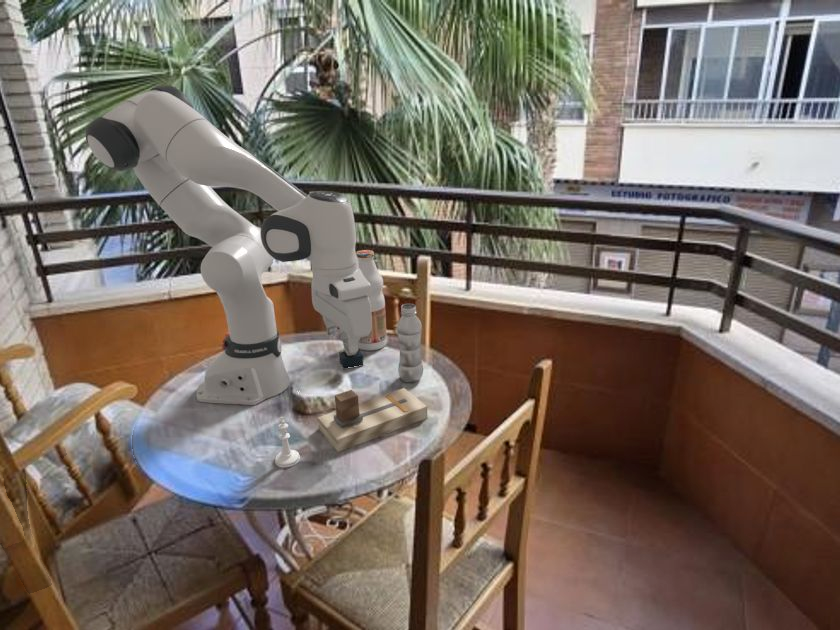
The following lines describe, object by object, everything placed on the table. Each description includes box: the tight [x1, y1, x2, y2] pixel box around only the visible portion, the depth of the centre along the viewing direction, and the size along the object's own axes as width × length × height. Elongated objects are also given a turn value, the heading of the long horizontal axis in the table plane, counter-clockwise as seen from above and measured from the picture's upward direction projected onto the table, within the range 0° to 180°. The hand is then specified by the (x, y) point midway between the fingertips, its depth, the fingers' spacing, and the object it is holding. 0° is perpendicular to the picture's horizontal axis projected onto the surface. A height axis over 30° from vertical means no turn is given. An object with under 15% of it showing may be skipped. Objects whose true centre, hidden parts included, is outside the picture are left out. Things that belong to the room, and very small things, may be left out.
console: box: [317, 387, 428, 453], centre depth 119 cm, size 22×10×3 cm, turn 123°
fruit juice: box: [356, 249, 388, 352], centre depth 152 cm, size 9×9×28 cm
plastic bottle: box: [396, 303, 424, 383], centre depth 134 cm, size 6×7×20 cm
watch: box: [337, 328, 364, 369], centre depth 144 cm, size 6×8×11 cm
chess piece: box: [274, 416, 301, 468], centre depth 106 cm, size 5×5×10 cm
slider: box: [333, 389, 363, 428], centre depth 114 cm, size 5×4×6 cm
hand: (342, 342), depth 108 cm, fingers open, 8 cm apart
